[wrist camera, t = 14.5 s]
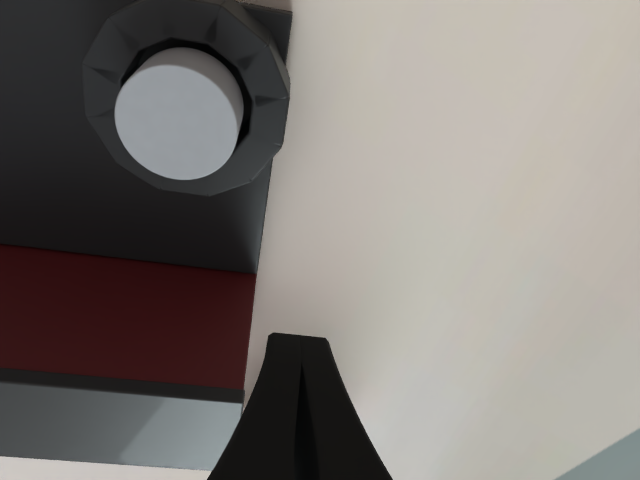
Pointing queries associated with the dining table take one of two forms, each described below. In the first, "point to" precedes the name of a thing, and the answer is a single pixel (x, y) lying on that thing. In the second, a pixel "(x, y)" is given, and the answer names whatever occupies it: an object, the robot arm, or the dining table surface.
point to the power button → (180, 114)
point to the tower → (120, 358)
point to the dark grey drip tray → (103, 139)
